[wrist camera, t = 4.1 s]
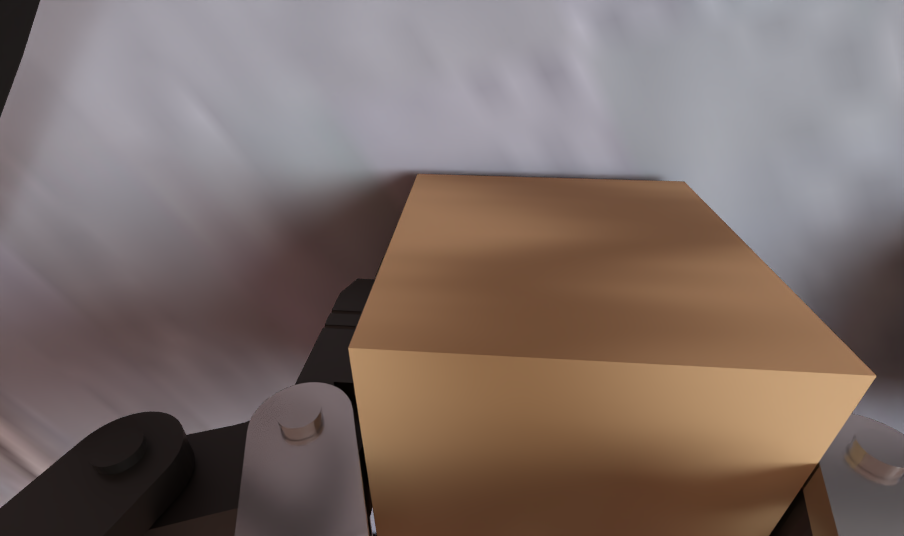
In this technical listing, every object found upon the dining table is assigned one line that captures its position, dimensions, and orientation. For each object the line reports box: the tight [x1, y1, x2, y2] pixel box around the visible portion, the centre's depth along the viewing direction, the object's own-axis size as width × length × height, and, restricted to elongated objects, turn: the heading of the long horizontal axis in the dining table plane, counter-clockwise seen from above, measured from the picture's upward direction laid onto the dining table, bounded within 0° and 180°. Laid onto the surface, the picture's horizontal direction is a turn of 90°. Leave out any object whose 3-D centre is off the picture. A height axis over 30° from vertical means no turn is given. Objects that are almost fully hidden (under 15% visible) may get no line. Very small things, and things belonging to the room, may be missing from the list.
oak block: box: [348, 174, 876, 536], centre depth 8 cm, size 5×5×5 cm
